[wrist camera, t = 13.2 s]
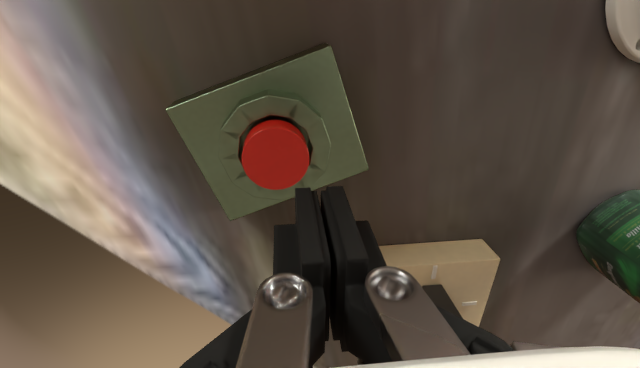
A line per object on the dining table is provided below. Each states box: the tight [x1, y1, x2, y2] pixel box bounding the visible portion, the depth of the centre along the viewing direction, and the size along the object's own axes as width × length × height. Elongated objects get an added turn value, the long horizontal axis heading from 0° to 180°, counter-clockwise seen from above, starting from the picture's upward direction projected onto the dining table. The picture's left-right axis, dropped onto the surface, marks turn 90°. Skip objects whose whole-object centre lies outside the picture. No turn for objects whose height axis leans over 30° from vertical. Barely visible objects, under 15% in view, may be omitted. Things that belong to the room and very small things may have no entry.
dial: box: [422, 284, 463, 319], centre depth 28 cm, size 6×2×5 cm, turn 178°
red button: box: [242, 119, 309, 190], centre depth 21 cm, size 4×4×2 cm
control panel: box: [379, 239, 500, 327], centre depth 32 cm, size 12×10×3 cm
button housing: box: [166, 43, 369, 221], centre depth 23 cm, size 11×9×4 cm
